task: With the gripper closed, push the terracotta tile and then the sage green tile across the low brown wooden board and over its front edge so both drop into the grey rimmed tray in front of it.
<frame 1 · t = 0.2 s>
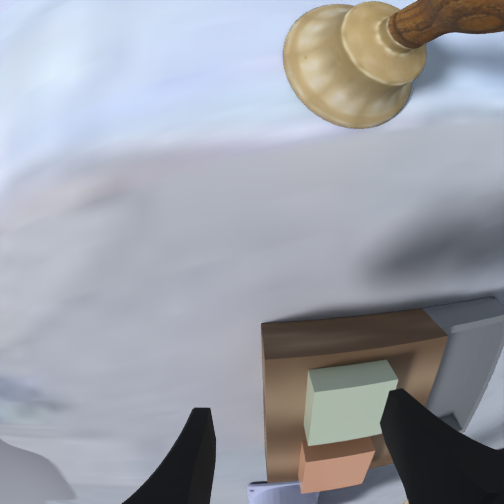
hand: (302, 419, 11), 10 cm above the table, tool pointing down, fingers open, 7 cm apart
sage green tile: (344, 394, 19), point 4 cm above the table, touching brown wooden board
terracotta tile: (331, 455, 21), point 4 cm above the table, touching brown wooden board
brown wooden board: (338, 391, 24), on the table
hand bell: (350, 64, 16), on the table
grey rimmed tray: (441, 371, 24), on the table
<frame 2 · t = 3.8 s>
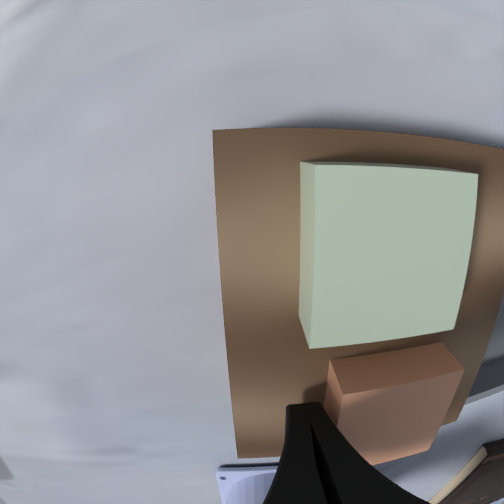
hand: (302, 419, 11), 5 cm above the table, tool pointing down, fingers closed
sage green tile: (375, 240, 10), point 4 cm above the table, touching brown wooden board
terracotta tile: (379, 397, 12), point 4 cm above the table, touching gripper, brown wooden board
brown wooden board: (356, 287, 15), on the table
hardcover book: (494, 468, 25), on the table
grey rimmed tray: (501, 273, 15), on the table
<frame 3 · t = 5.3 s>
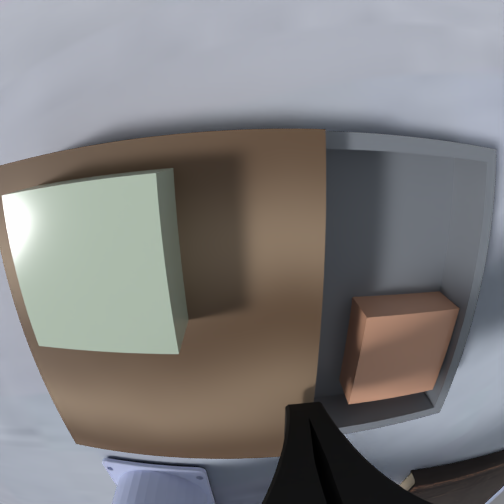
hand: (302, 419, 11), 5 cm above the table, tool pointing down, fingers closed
sage green tile: (107, 252, 10), point 4 cm above the table, touching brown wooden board
terracotta tile: (405, 359, 13), point 2 cm above the table, tilted 180°, touching grey rimmed tray
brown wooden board: (171, 296, 15), on the table
hardcover book: (444, 491, 25), on the table
grey rimmed tray: (380, 285, 15), on the table
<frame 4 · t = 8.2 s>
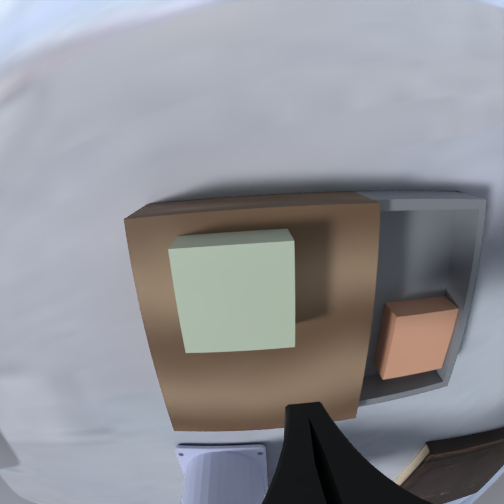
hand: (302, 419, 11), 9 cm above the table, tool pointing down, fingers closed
sage green tile: (236, 283, 15), point 4 cm above the table, touching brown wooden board
terracotta tile: (422, 345, 19), point 2 cm above the table, tilted 180°, touching grey rimmed tray
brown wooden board: (257, 307, 20), on the table
hardcover book: (453, 466, 31), on the table
grey rimmed tray: (403, 293, 20), on the table
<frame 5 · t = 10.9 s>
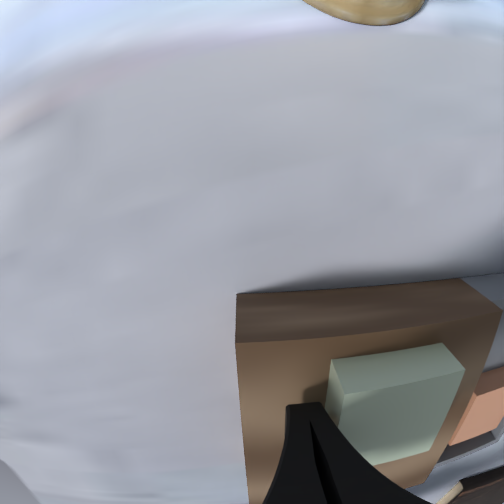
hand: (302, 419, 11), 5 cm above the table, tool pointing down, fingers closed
sage green tile: (380, 397, 12), point 4 cm above the table
terracotta tile: (488, 414, 16), point 2 cm above the table, tilted 180°, touching grey rimmed tray
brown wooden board: (347, 394, 17), on the table
hardcover book: (475, 493, 28), on the table
grey rimmed tray: (477, 366, 17), on the table
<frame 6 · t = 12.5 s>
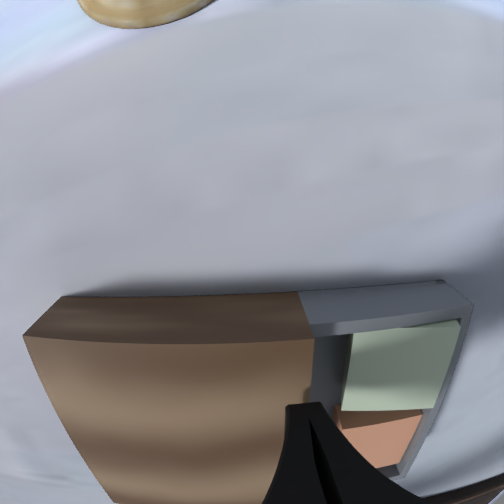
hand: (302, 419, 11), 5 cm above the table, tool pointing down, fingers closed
sage green tile: (399, 373, 13), point 3 cm above the table, tilted 167°, touching grey rimmed tray
terracotta tile: (374, 449, 16), point 2 cm above the table, tilted 180°, touching grey rimmed tray
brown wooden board: (188, 404, 17), on the table
grey rimmed tray: (359, 393, 17), on the table
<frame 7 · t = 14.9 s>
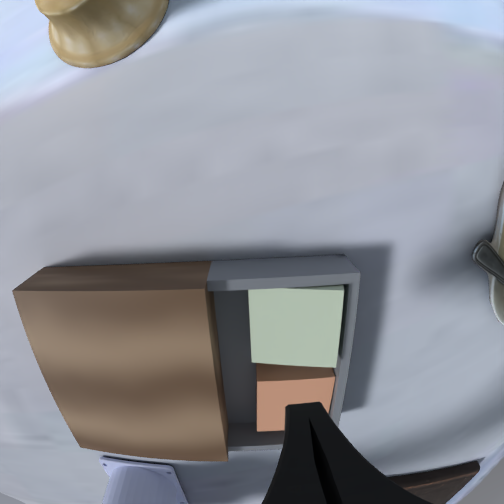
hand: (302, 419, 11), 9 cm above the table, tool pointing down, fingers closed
sage green tile: (294, 330, 17), point 3 cm above the table, tilted 167°, touching grey rimmed tray
terracotta tile: (294, 406, 20), point 2 cm above the table, tilted 180°, touching grey rimmed tray
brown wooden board: (137, 356, 21), on the table
hardcover book: (389, 499, 32), on the table
hand bell: (106, 10, 14), on the table
grey rimmed tray: (279, 354, 21), on the table
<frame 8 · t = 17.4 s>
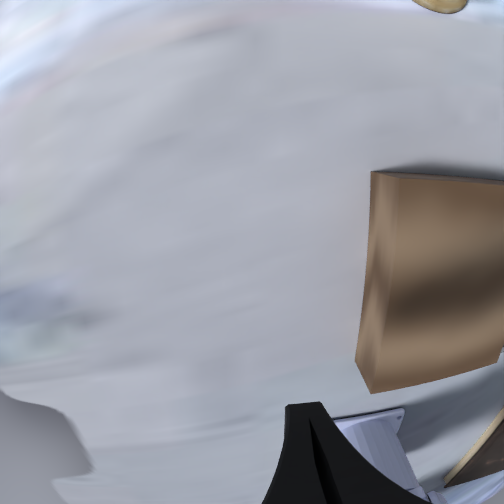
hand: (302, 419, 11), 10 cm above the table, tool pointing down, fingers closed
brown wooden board: (437, 271, 21), on the table
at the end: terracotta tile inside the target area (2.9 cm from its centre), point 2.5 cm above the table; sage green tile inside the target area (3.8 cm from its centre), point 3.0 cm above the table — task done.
